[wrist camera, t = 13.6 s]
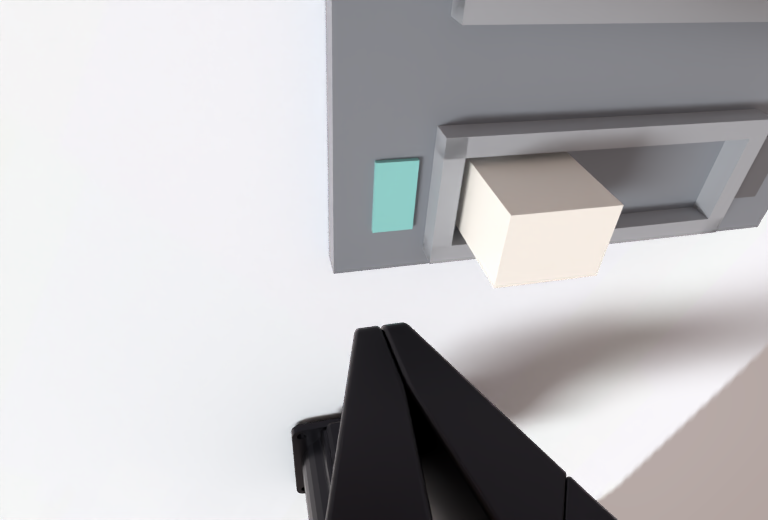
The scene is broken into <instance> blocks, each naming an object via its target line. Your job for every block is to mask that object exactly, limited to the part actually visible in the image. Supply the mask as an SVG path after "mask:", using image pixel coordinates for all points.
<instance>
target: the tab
mask: <svg viewBox="0 0 768 520" xmlns="http://www.w3.org/2000/svg"><path fill="white" fill-rule="evenodd" d="M623 206H624V205H623V204H622V203H621V202H620V201H619V200H618V199H617V198H616V197H615V196H613V195H612V194H611V193H610V192H609V191H608V190H607V189H606V188H605V187H604V186H603V185H602V184H601V183H599V182H598V181H597V180H596V179H595V178H594V177H593V176H592V175H591V174H590V173H589V172H588V171H587V170H586V169H584V168H583V167H582V166H581V165H580V164H579V163H578V162H577V161H576V160H575V159H574V158H573V157H572V156H570V155H569V154H568V153H567V152H552V153H537V154H522V155H508V156H493V157H478V158H466V160H465V166H464V172H463V178H462V185H461V191H460V197H459V203H458V209H457V215H456V221H455V224H456V226H457V227H458V229H459V231H460V233H461V234H462V236H463V238H464V239H465V241H466V243H467V244H468V246H469V248H470V249H471V251H472V253H473V254H474V256H475V258H476V259H477V261H478V263H479V264H480V266H481V268H482V269H483V271H484V273H485V274H486V276H487V278H488V279H489V281H490V283H491V284H492V286H493V288H500V287H509V286H517V285H525V284H533V283H541V282H549V281H557V280H565V279H573V278H581V277H589V276H596V275H597V273H598V270H599V268H600V265H601V262H602V260H603V257H604V255H605V252H606V250H607V247H608V244H609V242H610V239H611V237H612V234H613V232H614V229H615V226H616V224H617V221H618V219H619V216H620V214H621V211H622V208H623Z"/></svg>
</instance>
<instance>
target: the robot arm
mask: <svg viewBox="0 0 768 520" xmlns="http://www.w3.org/2000/svg"><path fill="white" fill-rule="evenodd" d="M291 433H292V444H293V455H294V466H295V476H296V486H297V491H298V492H299V493H305V494H306V502H307V510H308V517H309V520H617V519H616V518H615V517H614V516H613V515H612V514H611V513H609V512H608V511H607V510H606V509H605V508H604V507H603V506H602V505H600V504H599V503H598V502H597V501H596V500H595V499H594V498H593V497H592V496H591V495H589V494H588V493H587V492H586V491H585V490H584V489H583V488H582V487H581V486H580V485H579V484H578V483H577V482H576V481H575V480H574V479H572V478H571V477H567V478H566V472H565V471H564V470H563V469H562V468H560V467H559V466H558V465H557V464H556V463H555V462H554V461H553V460H552V459H551V458H550V457H549V456H548V455H547V454H546V453H545V452H543V451H542V450H541V449H540V448H539V447H538V446H537V445H536V444H535V443H534V442H533V441H532V440H531V439H530V438H529V437H527V436H526V435H525V434H524V433H523V432H522V431H521V430H520V429H519V428H518V427H517V426H516V425H515V424H514V423H513V422H511V421H510V420H509V419H508V418H507V417H506V416H505V415H504V414H503V413H502V412H501V411H500V410H499V409H498V408H497V407H496V406H494V405H493V404H492V403H491V402H490V401H489V400H488V399H487V398H486V397H485V396H484V395H483V394H482V393H481V392H480V391H478V390H477V389H476V388H475V387H474V386H473V385H472V384H471V383H470V382H469V381H468V380H467V379H466V378H465V377H464V376H463V375H461V374H460V373H459V372H458V371H457V370H456V369H455V368H454V367H453V366H452V365H451V364H450V363H449V362H448V361H447V360H445V359H444V358H443V357H442V356H441V355H440V354H439V353H438V352H437V351H436V350H435V349H434V348H433V347H432V346H431V345H429V344H428V343H427V342H426V341H425V340H424V339H423V338H422V337H421V336H420V335H419V334H418V333H417V332H416V331H415V330H414V329H412V328H411V327H410V326H409V325H408V324H406V323H395V324H387V325H383V326H382V327H381V328H380V327H378V326H372V327H365V328H358V329H356V330H355V333H354V339H353V345H352V351H351V358H350V364H349V371H348V377H347V384H346V390H345V397H344V403H343V409H342V416H341V418H336V419H330V420H325V421H319V422H313V423H307V424H301V425H297V426H295V427H294V428H293V429H292V431H291Z"/></svg>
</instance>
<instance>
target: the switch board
mask: <svg viewBox="0 0 768 520" xmlns="http://www.w3.org/2000/svg"><path fill="white" fill-rule="evenodd" d="M326 67H327V138H328V209H329V257H330V261H331V265H332V269H333V273H334V274H335V273H344V272H353V271H362V270H371V269H380V268H390V267H399V266H408V265H417V264H426V263H430V264H433V263H442V262H451V261H460V260H469V259H476V258H475V256H474V254H473V253H472V251H471V249H470V248H469V246H468V244H467V243H466V241H465V239H464V238H463V236H462V234H461V233H460V231H459V229H458V227H457V226H456V224H455V221H456V215H457V209H458V203H459V197H460V191H461V185H462V178H463V172H464V166H465V160H466V158H478V157H493V156H508V155H522V154H537V153H552V152H567V153H568V154H569V155H570V156H572V157H573V158H574V159H575V160H576V161H577V162H578V163H579V164H580V165H581V166H582V167H583V168H584V169H586V170H587V171H588V172H589V173H590V174H591V175H592V176H593V177H594V178H595V179H596V180H597V181H598V182H599V183H601V184H602V185H603V186H604V187H605V188H606V189H607V190H608V191H609V192H610V193H611V194H612V195H613V196H615V197H616V198H617V199H618V200H619V201H620V202H621V203H622V204H623V205H624V206H623V208H622V211H621V214H620V216H619V219H618V221H617V224H616V226H615V229H614V232H613V234H612V237H611V239H610V242H609V244H613V243H622V242H631V241H640V240H649V239H658V238H667V237H676V236H685V235H694V234H703V233H712V232H716V231H724V230H733V229H742V228H751V227H758V225H759V223H760V222H761V220H762V218H763V217H764V215H765V213H766V212H767V210H768V0H326Z"/></svg>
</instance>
